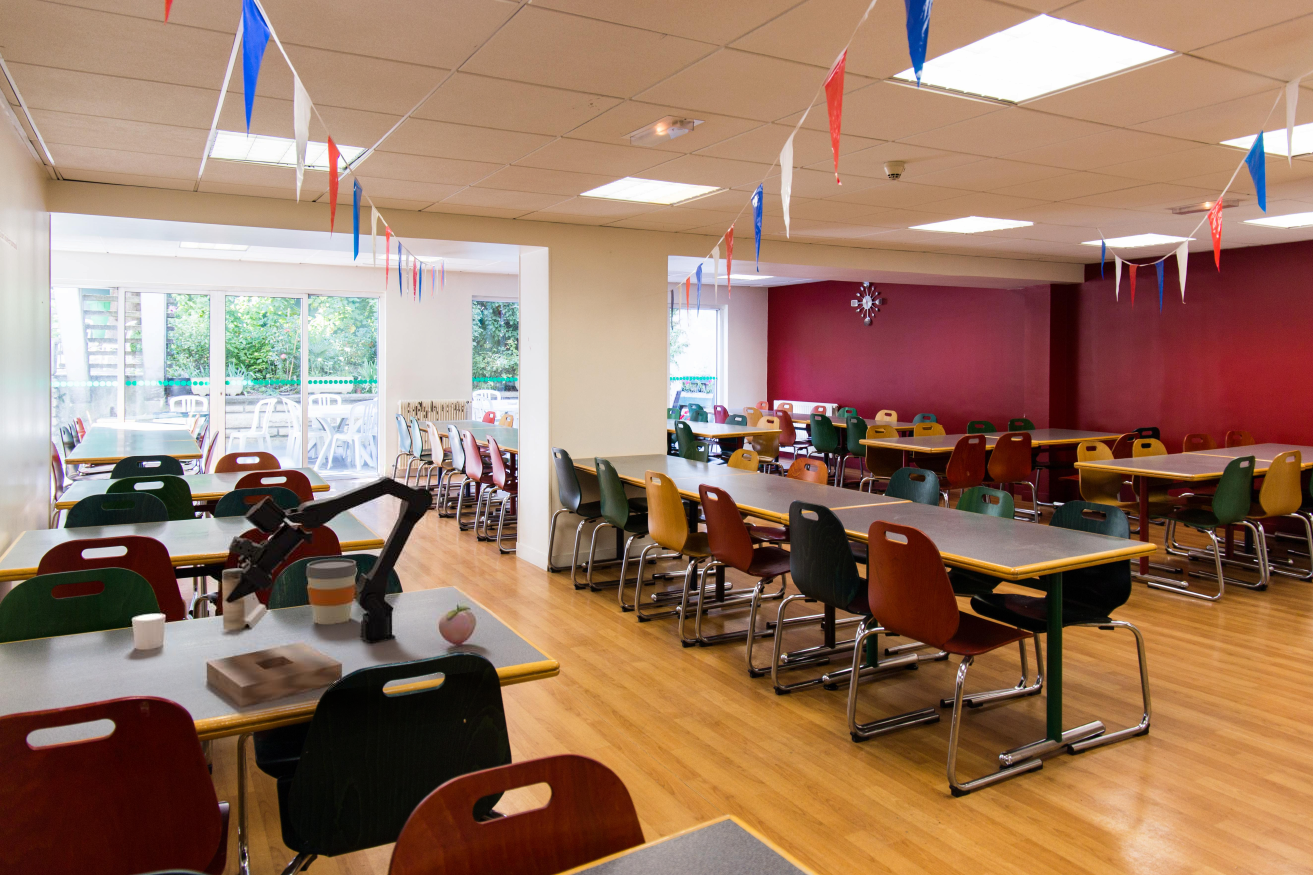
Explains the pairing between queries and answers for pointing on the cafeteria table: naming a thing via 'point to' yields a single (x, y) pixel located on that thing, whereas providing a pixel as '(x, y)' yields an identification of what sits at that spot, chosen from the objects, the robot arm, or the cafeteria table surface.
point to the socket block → (273, 673)
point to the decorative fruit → (457, 625)
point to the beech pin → (235, 609)
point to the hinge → (253, 610)
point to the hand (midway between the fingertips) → (226, 599)
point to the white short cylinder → (148, 630)
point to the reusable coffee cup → (331, 589)
